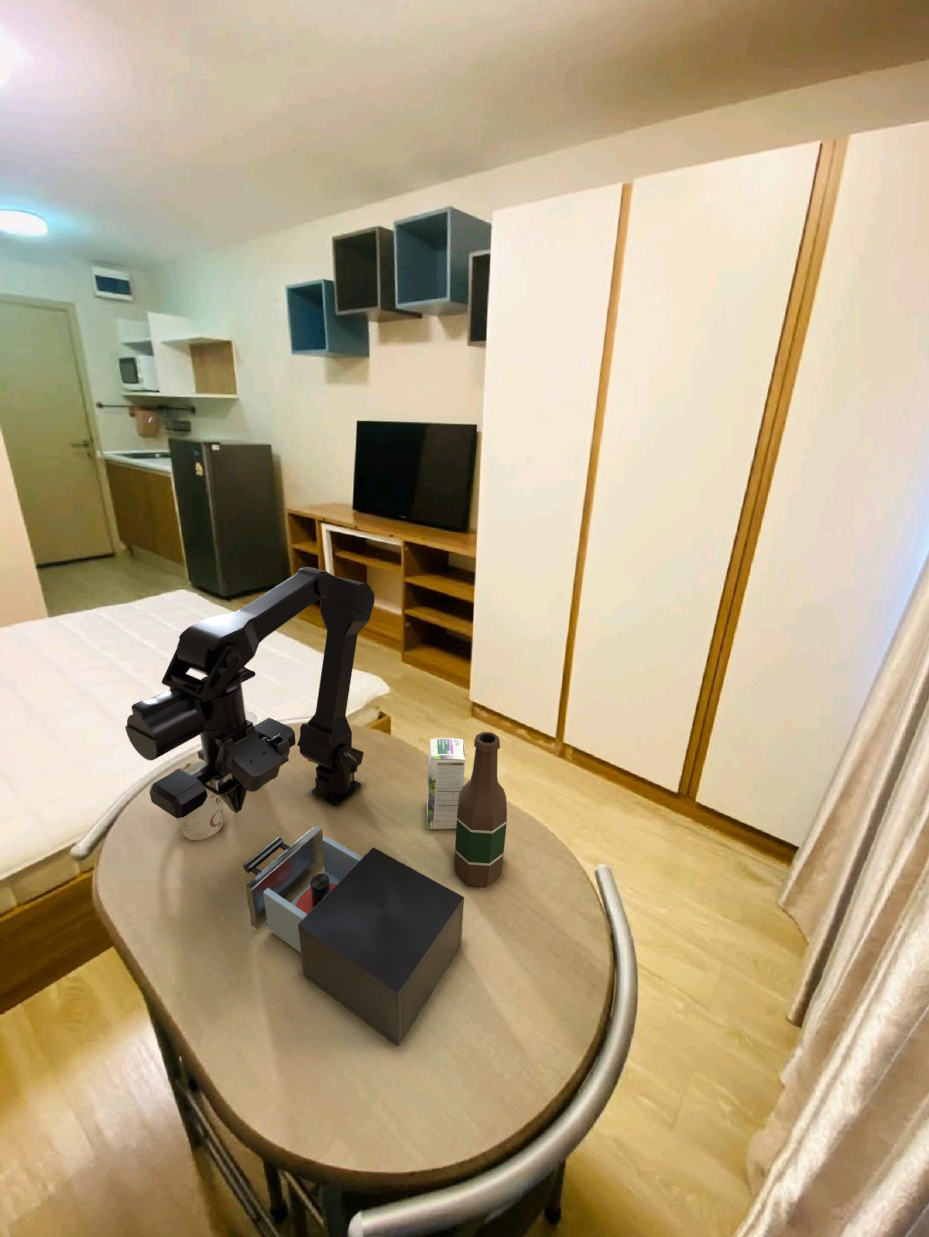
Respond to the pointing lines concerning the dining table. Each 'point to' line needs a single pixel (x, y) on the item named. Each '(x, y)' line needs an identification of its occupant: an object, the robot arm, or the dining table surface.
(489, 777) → the beer bottle
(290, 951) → the dining table surface
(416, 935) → the small cabinet
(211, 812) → the mug
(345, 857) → the drawer
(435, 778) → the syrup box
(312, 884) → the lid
